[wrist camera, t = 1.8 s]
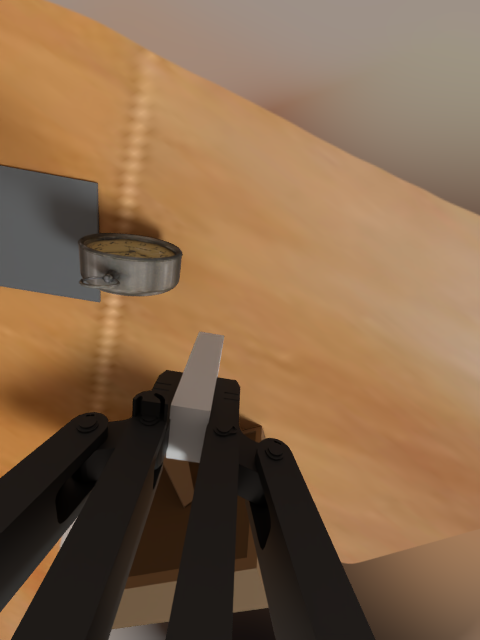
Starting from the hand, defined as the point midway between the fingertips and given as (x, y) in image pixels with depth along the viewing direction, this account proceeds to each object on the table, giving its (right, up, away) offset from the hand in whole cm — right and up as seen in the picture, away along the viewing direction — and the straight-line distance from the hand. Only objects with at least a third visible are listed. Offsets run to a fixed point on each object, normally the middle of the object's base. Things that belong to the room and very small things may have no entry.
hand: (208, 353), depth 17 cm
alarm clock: (-11, +11, +22) cm, 27 cm away
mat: (-27, +14, +21) cm, 37 cm away
